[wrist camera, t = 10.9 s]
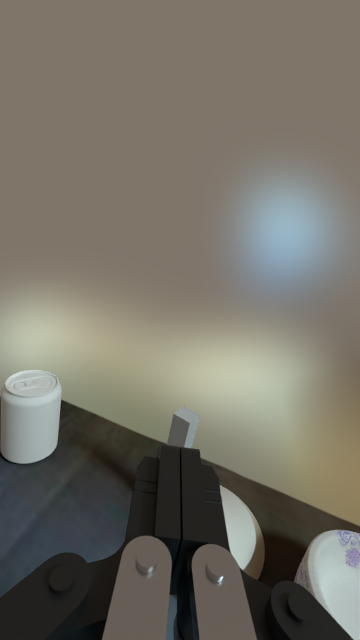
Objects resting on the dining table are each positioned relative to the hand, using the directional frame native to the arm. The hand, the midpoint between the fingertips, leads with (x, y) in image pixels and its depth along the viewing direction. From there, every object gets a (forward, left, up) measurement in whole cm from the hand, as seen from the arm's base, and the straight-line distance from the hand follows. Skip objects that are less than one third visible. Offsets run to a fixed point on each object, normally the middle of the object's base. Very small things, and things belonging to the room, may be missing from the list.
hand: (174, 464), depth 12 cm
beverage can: (-18, +31, -30) cm, 47 cm away
